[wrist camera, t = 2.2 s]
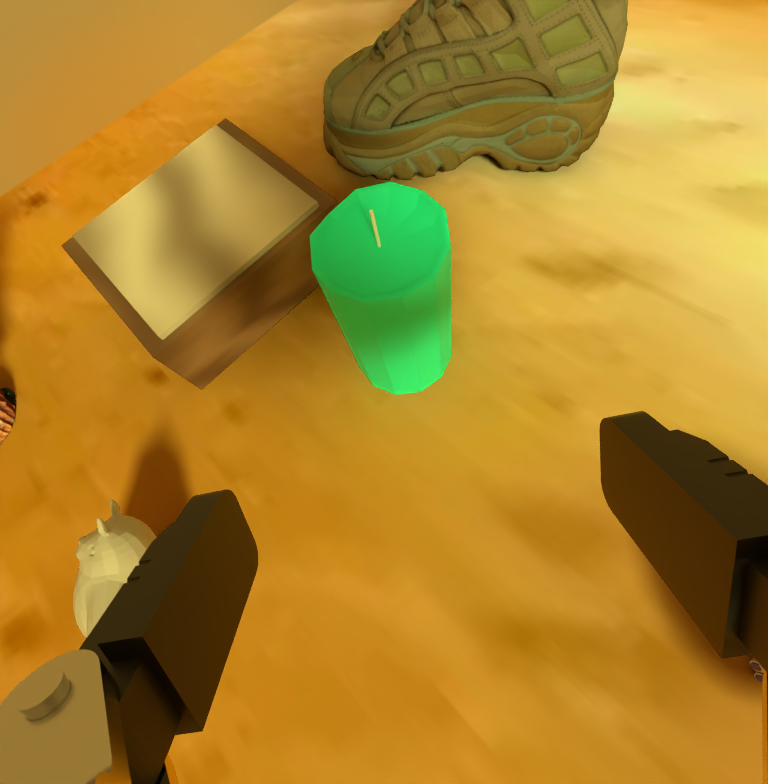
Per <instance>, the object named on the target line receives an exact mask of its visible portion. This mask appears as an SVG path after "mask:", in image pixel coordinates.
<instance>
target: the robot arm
mask: <svg viewBox="0 0 768 784" xmlns="http://www.w3.org/2000/svg"><path fill="white" fill-rule="evenodd" d="M600 460H601V484H602V489H603V493H604V496H605V499H606V501H607V504H608V506H609V507H610V509H611V511H612V512H613V514H614V515H615V516H616V518H617V519H618V520H619V522H620V523H621V524H622V526H623V527H624V528H625V530H626V531H627V532H628V534H629V535H630V536H631V538H632V539H633V540H634V542H635V543H636V544H637V546H638V547H639V548H640V550H641V551H642V552H643V554H644V555H645V556H646V558H647V559H648V560H649V562H650V563H651V564H652V566H653V567H654V568H655V570H656V571H657V572H658V574H659V575H660V576H661V578H662V579H663V580H664V582H665V583H666V584H667V586H668V587H669V588H670V590H671V591H672V592H673V594H674V595H675V596H676V598H677V599H678V600H679V602H680V603H681V604H682V606H683V607H684V608H685V610H686V611H687V612H688V614H689V615H690V616H691V618H692V619H693V620H694V622H695V623H696V624H697V626H698V627H699V628H700V630H701V631H702V632H703V634H704V635H705V636H706V638H707V639H708V640H709V642H710V643H711V644H712V646H713V647H714V648H715V650H716V651H717V652H718V654H719V655H720V656H721V658H728V657H735V656H742V655H749V654H752V655H753V656H754V658H755V659H756V660H757V661H758V662H759V664H760V665H761V666H762V667H763V668H764V675H763V682H762V722H763V784H768V485H766V484H765V483H764V482H762V481H761V480H760V479H758V478H757V477H756V476H754V475H753V474H748V473H747V470H746V469H745V468H743V467H742V466H740V465H739V464H738V463H736V462H735V461H734V460H729V458H728V456H727V455H725V454H724V453H723V452H721V451H720V450H719V449H717V448H716V447H714V446H713V445H712V444H710V443H709V442H708V441H706V440H703V439H701V438H698V437H695V436H693V435H690V434H688V433H685V432H682V431H680V430H673V431H669V430H668V429H666V428H665V427H664V426H663V425H661V424H660V423H659V422H658V421H656V420H655V419H654V418H652V417H651V416H650V415H649V414H647V413H646V412H643V411H639V412H634V413H629V414H624V415H618V416H613V417H608V418H604V419H602V421H601V423H600ZM257 567H258V551H257V546H256V543H255V540H254V538H253V535H252V533H251V531H250V528H249V526H248V524H247V521H246V519H245V517H244V515H243V512H242V510H241V508H240V505H239V503H238V501H237V498H236V496H235V495H234V493H233V492H232V491H230V490H222V491H217V492H211V493H206V494H201V495H196V496H193V497H192V498H191V499H190V501H189V502H188V504H187V505H186V507H185V508H184V510H183V511H182V513H181V515H180V516H179V518H178V519H177V521H176V522H175V523H172V524H171V525H170V526H169V527H168V528H167V529H165V530H164V531H163V532H162V533H161V534H160V535H159V536H158V537H157V538H156V539H154V540H153V541H152V543H151V544H150V546H149V547H148V548H147V550H146V551H145V553H144V554H143V556H142V557H141V559H140V560H139V565H138V566H135V568H134V569H133V571H132V572H131V574H130V575H129V576H128V578H127V583H124V584H123V585H122V587H121V588H120V590H119V591H118V593H117V594H116V596H115V597H114V599H113V600H112V602H111V603H110V604H109V606H108V607H107V609H106V610H105V612H104V613H103V615H102V616H101V618H100V619H99V621H98V622H97V624H96V625H95V627H94V628H93V630H92V631H91V633H90V634H89V635H88V637H87V638H86V640H85V641H84V643H83V644H82V646H81V647H80V649H79V650H75V651H71V652H68V653H65V654H62V655H60V656H58V657H56V658H54V659H52V660H50V661H49V662H47V663H45V664H44V665H42V666H41V667H39V668H38V669H36V670H35V671H34V672H32V673H31V674H30V675H28V676H27V677H26V678H25V679H24V680H23V681H22V682H20V683H19V684H18V685H17V686H16V687H15V688H14V689H13V690H12V691H11V693H10V694H9V695H8V696H7V697H6V698H5V699H4V701H3V702H2V703H1V705H0V784H178V780H177V776H176V772H175V768H174V765H173V762H172V760H171V759H170V757H169V756H168V751H169V749H170V746H171V744H172V741H173V739H174V736H175V735H180V734H186V733H193V732H200V731H203V728H204V725H205V722H206V719H207V716H208V713H209V711H210V708H211V705H212V702H213V699H214V696H215V693H216V690H217V687H218V684H219V681H220V678H221V675H222V672H223V669H224V666H225V663H226V660H227V657H228V655H229V652H230V649H231V646H232V643H233V640H234V637H235V634H236V631H237V628H238V625H239V622H240V619H241V616H242V613H243V610H244V607H245V604H246V601H247V598H248V596H249V593H250V590H251V587H252V584H253V581H254V578H255V575H256V572H257Z"/></svg>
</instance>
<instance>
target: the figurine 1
mask: <svg viewBox="0 0 768 784" xmlns="http://www.w3.org/2000/svg"><path fill="white" fill-rule="evenodd" d="M14 398H15V395H14V392H13V391H12V390H10V389H9V388H3V389H0V445H1V442H2V441H3V440H4V439H5V438H6V436H7V435H8V434H9V432H10V430H11V428H12V423H13V422H14V419H15V410H16V405H15V403H16V400H15V399H14ZM14 401H15V402H14Z"/></svg>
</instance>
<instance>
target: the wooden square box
mask: <svg viewBox="0 0 768 784" xmlns="http://www.w3.org/2000/svg"><path fill="white" fill-rule="evenodd" d="M337 206H338V202H337V200H335V199H334V198H333V197H331V196H330V195H329V194H327V193H326V192H325V191H323V190H322V189H321V188H319V187H318V186H317V185H315V184H314V183H312V182H311V181H310V180H308V179H307V178H306V177H304V176H303V175H302V174H300V173H299V172H298V171H296V170H295V169H294V168H292V167H291V166H289V165H288V164H287V163H285V162H284V161H283V160H281V159H280V158H279V157H277V156H276V155H275V154H273V153H272V152H271V151H269V150H268V149H267V148H265V147H264V146H262V145H261V144H260V143H258V142H257V141H256V140H254V139H253V138H252V137H250V136H249V135H248V134H246V133H245V132H244V131H242V130H241V129H240V128H238V127H237V126H235V125H234V124H233V123H231V122H230V121H229V120H227V119H226V118H225V119H224V120H223V121H221V122H220V123H219V124H218V125H214V126H213V127H212V128H210V129H209V130H208V131H207V132H205V133H204V134H203V135H201V136H200V137H199V138H198V139H196V140H195V141H194V142H192V143H191V144H190V145H189V146H187V147H186V148H185V149H183V150H182V151H181V152H180V153H178V154H177V155H176V156H174V157H173V158H172V159H170V160H169V161H168V162H167V163H165V164H164V165H163V166H161V167H160V168H159V169H158V170H156V171H155V172H154V173H152V174H151V175H150V176H149V177H147V178H146V179H145V180H143V181H142V182H141V183H139V184H138V185H137V186H136V187H134V188H133V189H132V190H130V191H129V192H128V193H127V194H125V195H124V196H123V197H121V198H120V199H119V200H118V201H116V202H115V203H114V204H112V205H111V206H110V207H108V208H107V209H106V210H105V211H103V212H102V213H101V214H99V215H98V216H97V217H96V218H94V219H93V220H92V221H90V222H89V223H88V224H87V225H85V226H84V227H83V228H81V229H80V230H79V231H78V232H76V233H75V234H74V235H72V236H73V237H72V238H70V239H69V240H68V241H67V242H65V243H64V244H63V245H61V246H62V247H63V248H64V250H65V251H66V252H67V253H68V255H69V256H70V257H71V258H72V259H73V261H74V262H75V263H76V264H77V265H78V267H79V268H80V269H81V270H82V272H83V273H84V274H85V275H86V276H87V278H88V279H89V280H90V281H91V282H92V284H93V285H94V286H95V287H96V289H97V290H98V291H99V292H100V293H101V295H102V296H103V297H104V298H105V299H106V301H107V302H108V303H109V304H110V306H111V307H112V308H113V309H114V310H115V312H116V313H117V314H118V315H119V316H120V318H121V319H122V320H123V321H124V323H125V324H126V325H127V326H128V327H129V329H130V330H131V331H132V332H133V333H134V335H135V336H136V337H137V338H138V339H139V341H140V342H141V343H142V344H143V346H144V347H145V348H146V349H147V350H148V352H149V353H150V354H151V355H152V356H153V358H155V359H156V360H158V361H159V362H161V363H162V364H164V365H165V366H167V367H168V368H170V369H171V370H173V371H174V372H176V373H177V374H179V375H180V376H182V377H183V378H185V379H186V380H188V381H189V382H191V383H192V384H194V385H195V386H197V387H198V388H200V389H201V390H202V389H203V388H204V387H205V386H206V385H207V384H209V383H210V382H211V381H212V380H213V379H214V378H215V377H216V376H218V375H219V374H220V373H221V372H222V371H223V370H224V369H225V368H227V367H228V366H229V365H230V364H231V363H232V362H233V361H234V360H236V359H237V358H238V357H239V356H240V355H241V354H242V353H243V352H245V351H246V350H247V349H248V348H249V347H250V346H251V345H253V344H254V343H255V342H256V341H257V340H258V339H259V338H260V337H262V336H263V335H264V334H265V333H266V332H267V331H268V330H269V329H271V328H272V327H273V326H274V325H275V324H276V323H277V322H278V321H280V320H281V319H282V318H283V317H284V316H285V315H286V314H287V313H289V312H290V311H291V310H292V309H293V308H294V307H295V306H296V305H298V304H299V303H300V302H301V301H302V300H303V299H304V298H306V297H307V296H308V295H309V294H310V293H311V292H312V291H313V290H315V289H316V288H317V287H318V286H319V283H318V281H317V279H316V277H315V274H314V272H313V270H312V262H311V247H310V235H311V234H312V232H313V231H314V230H315V229H316V228H317V227H318V225H319V224H320V223H321V222H322V221H323V220H324V218H325V217H326V216H327V215H328V214H329V213H330V212H331V211H332V210H333V209H334V208H335V207H337Z"/></svg>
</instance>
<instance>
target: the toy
mask: <svg viewBox="0 0 768 784" xmlns="http://www.w3.org/2000/svg"><path fill="white" fill-rule="evenodd" d="M749 656H751V657H752V658H753V659H752V660H751V661H750V662H749V665H750V667H751V668H752V669H753V670H755V671H757V672H755V674H754V678H755V679H756V680H757V681H759V682H761V683H762V682H763V675H764V668H763V667H762V666H761V665H760V664H759V662H758V661H757V660H756V659H755V658H754V656H753V655H752V654H749Z"/></svg>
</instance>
